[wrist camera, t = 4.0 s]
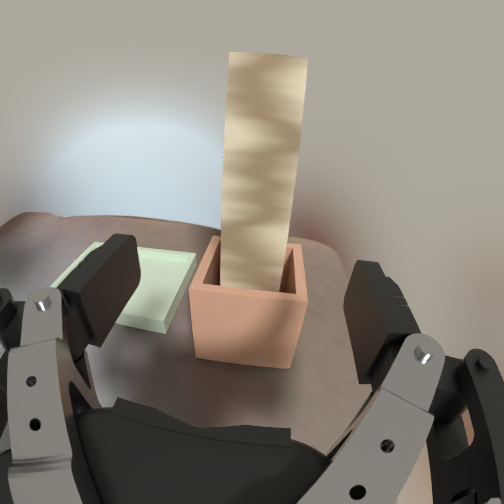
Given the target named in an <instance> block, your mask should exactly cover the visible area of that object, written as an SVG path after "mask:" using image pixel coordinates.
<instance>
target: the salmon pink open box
mask: <svg viewBox="0 0 504 504" xmlns="http://www.w3.org/2000/svg"><path fill="white" fill-rule="evenodd" d="M220 261H221V236H213V237H212V239H211V241H210V243H209V245H208V247H207V249H206V252H205V254H204V256H203V258H202V260H201V263H200V265H199V267H198V269H197V271H196V274H195V276H194V278H193V280H192V283H191V285H190V287H189V297H190V309H191V319H192V329H193V338H194V347H195V356H196V358H200V359H206V360H213V361H220V362H227V363H235V364H243V365H252V366H261V367H272V368H284V369H290V366H291V363H292V359H293V356H294V352H295V349H296V345H297V341H298V338H299V334H300V330H301V327H302V323H303V319H304V315H305V311H306V307H307V303H308V299H307V290H306V281H305V273H304V265H303V257H302V249H301V245H300V244H291V243H287V245H286V252H285V258H284V265H283V271H282V278H281V284H280V290H279V292H271V291H262V290H252V289H243V288H235V287H226V286H220Z"/></svg>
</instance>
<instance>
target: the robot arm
mask: <svg viewBox="0 0 504 504" xmlns="http://www.w3.org/2000/svg"><path fill="white" fill-rule="evenodd" d="M140 279H141V268H140V262H139V256H138V250H137V243H136V239H135V237H134V236H133V235H127V234H117V233H116V234H113V235H112V236H111V237H110V238H109V239H108V240H107V241H106V242H105V243H104V244H103V245H101V246H99V247H97V248H96V249H94V250H92V251H91V252H90V253H89V254H88V255H87V256H86V257H85V258H84V260H82V261H81V262H80V263H79V264H78V265H77V267H75V268H74V269H73V270H72V271H71V272H70V273H69V274H68V275H67V277H66V278H65V279H64V280H63V281H62V282H61V283H60V284H59V285H58V286H57V287H56V288H54V287H45V288H41V289H39V290H37V291H35V292H34V293H32V294H31V295H30V296H29V297H28V298H27V300H26V301H14V299H13V297H12V295H11V293H10V291H9V290H8V289H6V288H0V343H1V344H2V346H3V347H4V349H5V350H6V351H5V352H4V354H3V356H2V357H1V359H0V438H1V435H2V433H3V430H4V428H5V426H6V423H7V421H8V425H9V436H10V444H11V449H9V450H7V451H5V452H3V451H2V449H1V448H0V504H393V503H394V502H395V500H396V498H397V497H398V495H399V493H400V491H401V490H402V488H403V486H404V484H405V482H406V481H407V479H408V477H409V475H410V473H411V471H412V469H413V467H414V465H415V463H416V461H417V459H418V457H419V455H420V452H421V450H422V448H423V446H424V443H425V441H426V442H427V449H428V456H429V463H430V471H431V482H432V495H433V504H504V382H503V379H502V376H501V374H500V372H499V370H498V367H497V365H496V363H495V361H494V359H493V358H492V357H491V356H490V355H489V354H488V353H487V352H485V351H483V350H481V349H472V350H470V351H469V352H468V353H467V355H466V356H465V357H464V359H463V360H461V359H457V358H453V357H449V356H445V354H444V351H443V349H442V347H441V346H440V344H439V343H438V342H437V341H436V340H434V339H433V338H431V337H430V336H427V335H424V334H421V332H420V330H419V327H418V325H417V323H416V321H415V319H414V316H413V314H412V312H411V310H410V308H409V307H408V306H407V302H406V300H405V298H403V297H404V296H403V294H402V292H401V290H400V288H399V286H398V285H397V284H396V283H395V282H393V280H392V279H391V278H390V277H385V275H384V273H383V271H382V269H381V267H380V265H379V263H378V262H372V261H364V260H357V261H356V263H355V265H354V269H353V272H352V275H351V278H350V281H349V284H348V287H347V290H346V294H345V297H344V314H345V318H346V323H347V327H348V332H349V336H350V341H351V345H352V350H353V355H354V360H355V365H356V370H357V376H358V381H359V384H371V386H372V391H371V393H370V394H369V395H368V397H367V398H366V400H365V402H364V403H363V405H362V406H361V408H360V409H359V411H358V412H357V414H356V415H355V417H354V418H353V420H352V421H351V422H350V424H349V425H348V427H347V428H346V429H345V431H344V432H343V434H342V435H341V436H340V437H339V439H338V440H337V441H336V442H335V443H334V445H333V446H332V447H331V448H330V449H329V451H328V452H327V453H326V454H325V455H324V454H322V453H321V452H319V451H318V450H316V449H315V448H313V447H311V446H309V445H307V444H304V443H301V442H299V441H296V440H292V439H291V428H275V427H262V426H251V425H240V426H229V427H215V428H196V427H193V426H190V425H188V424H186V423H184V422H182V421H180V420H177V419H175V418H173V417H171V416H169V415H167V414H165V413H163V412H161V411H159V410H158V409H156V408H152V407H148V406H145V405H141V404H138V403H134V402H131V401H128V400H124V399H121V398H118V397H117V400H116V402H115V404H114V407H105V408H102V407H101V405H100V403H99V400H98V398H97V395H96V391H95V387H94V383H93V378H92V374H91V369H90V364H89V359H88V354H87V352H86V350H85V348H86V347H87V345H88V344H91V345H94V346H97V347H101V346H102V344H103V342H104V341H105V339H106V337H107V336H108V334H109V332H110V330H111V329H112V327H113V326H114V324H115V322H116V321H117V319H118V317H119V316H120V314H121V312H122V311H123V309H124V308H125V306H126V305H127V303H128V301H129V300H130V298H131V297H132V295H133V294H134V292H135V290H136V289H137V287H138V286H139V283H140ZM467 409H468V410H469V414H470V418H471V421H472V425H473V429H474V439H473V442H472V444H471V445H470V446H469V445H468V441H467V436H466V432H465V428H464V423H463V420H462V416H461V415H462V414H463V413H464V412H465V411H466V410H467Z"/></svg>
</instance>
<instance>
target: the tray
mask: <svg viewBox="0 0 504 504" xmlns="http://www.w3.org/2000/svg"><path fill="white" fill-rule="evenodd" d="M103 244H104V243H100V242H94V243H93V244H92V245H91V246H90V247H89V248H88V249H87V250H86V251H85V252H84V253H82V254H81V255H80V256H79V257H78V258H77V259H76V260H75V261H74V262H73V263H72V264H71V265H70V266H69V267H68V268H67V269H66V270H65V272H64V273H63V274H62V275H61V276H60V277H59V278H58V279H57V280H56V281H55V282H54V283H53V284H52V285H51V286H50V287H54V288H56V287H57V286H58V285H59V284H60V283H61V282H62V281H63V280H64V279H65V278H66V277H67V275H68V274H69V273H70V272H71V271H72V270H73V269H74V268H75V267H77V265H78V264H79V263H80V262H81V261H82V260H84V258H85V257H86V256H87V255H88V254H89V253H90V252H91V251H92V250H94V249H96V248H97V247H99V246H101V245H103ZM137 250H138V256H139V262H140V268H141V279H140V283H139V286H138V287H137V289H136V290H135V292H134V294H133V295H132V297H131V298H130V300H129V301H128V303H127V305H126V306H125V308H124V309H123V311H122V312H121V314H120V316H119V317H118V319H117V321H116V322H115V323H117V324H121V325H125V326H129V327H134V328H139V329H143V330H148V331H153V332H158V333H163V334H166V333H167V331H168V328H169V326H170V324H171V321H172V319H173V317H174V315H175V312H176V310H177V308H178V305H179V303H180V301H181V299H182V297H183V294H184V292H185V290H186V288H187V285H188V283H189V281H190V279H191V277H192V274H193V272H194V270H195V268H196V266H197V261H196V253H187V252H178V251H169V250H160V249H152V248H143V247H137Z"/></svg>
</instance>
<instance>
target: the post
mask: <svg viewBox="0 0 504 504" xmlns="http://www.w3.org/2000/svg"><path fill="white" fill-rule="evenodd" d="M307 62H308V58H304V57H296V56H288V55H278V54H265V53H264V54H263V53H244V52H230V58H229V71H228V85H227V86H228V87H227V100H226V117H225V135H224V156H223V181H222V213H221V261H220V286H226V287H235V288H243V289H252V290H262V291H271V292H279V290H280V284H281V278H282V271H283V265H284V258H285V252H286V245H287V238H288V231H289V224H290V217H291V209H292V202H293V194H294V186H295V178H296V171H297V162H298V154H299V145H300V136H301V127H302V117H303V108H304V97H305V87H306V75H307V64H308V63H307Z"/></svg>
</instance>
